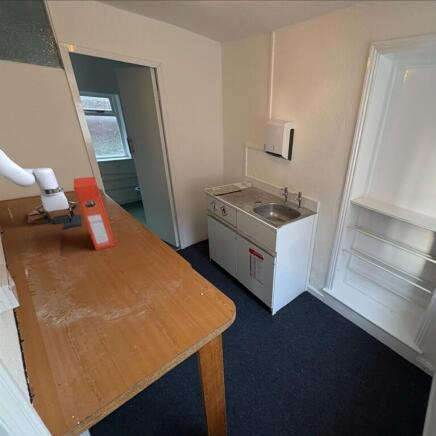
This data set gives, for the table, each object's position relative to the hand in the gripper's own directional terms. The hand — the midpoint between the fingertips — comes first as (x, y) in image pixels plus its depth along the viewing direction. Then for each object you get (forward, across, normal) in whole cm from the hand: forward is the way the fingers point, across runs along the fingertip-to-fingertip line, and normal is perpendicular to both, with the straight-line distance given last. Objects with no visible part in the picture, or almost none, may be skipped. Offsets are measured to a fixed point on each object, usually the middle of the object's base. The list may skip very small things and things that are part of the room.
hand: (61, 219), depth 134 cm
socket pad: (+3, 0, 0) cm, 3 cm away
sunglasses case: (+4, +13, -19) cm, 23 cm away
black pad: (+3, 0, 0) cm, 3 cm away
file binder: (+4, -17, +36) cm, 40 cm away
